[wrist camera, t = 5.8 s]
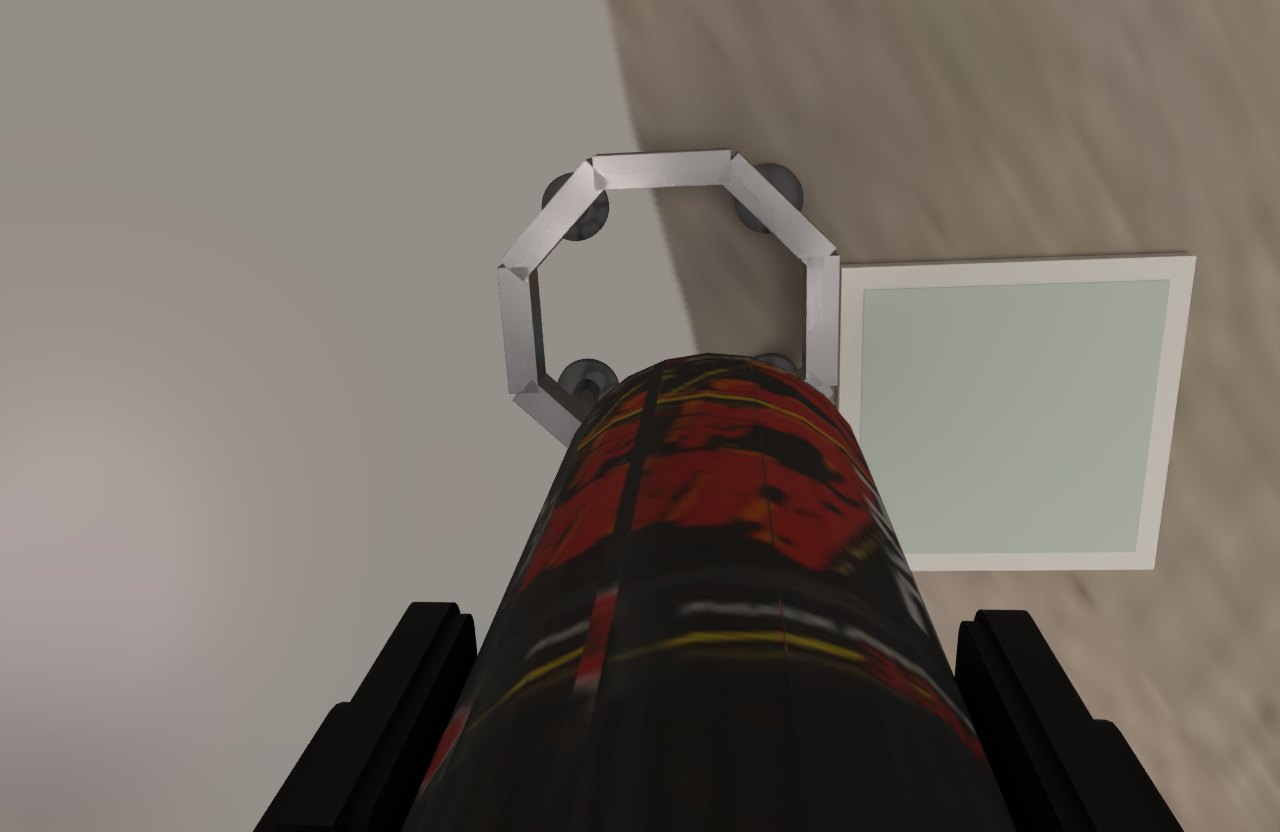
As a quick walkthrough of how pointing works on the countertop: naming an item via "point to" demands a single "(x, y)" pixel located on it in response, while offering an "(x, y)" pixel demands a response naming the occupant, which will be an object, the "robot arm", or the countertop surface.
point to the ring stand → (582, 210)
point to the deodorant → (711, 636)
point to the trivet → (1017, 404)
